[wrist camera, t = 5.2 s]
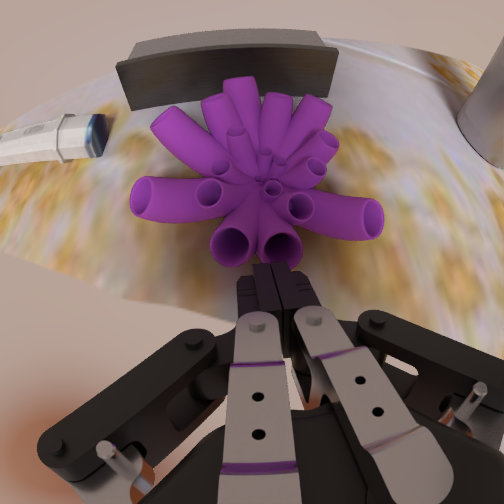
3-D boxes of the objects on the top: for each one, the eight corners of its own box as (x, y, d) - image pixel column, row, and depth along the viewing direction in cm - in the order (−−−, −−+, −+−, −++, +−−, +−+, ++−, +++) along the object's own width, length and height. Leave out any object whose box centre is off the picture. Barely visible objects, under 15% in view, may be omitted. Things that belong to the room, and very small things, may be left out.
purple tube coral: (239, 306, 20) (119, 286, 13) (225, 145, 26) (146, 91, 18) (399, 262, 14) (353, 189, 7) (333, 88, 20) (268, 1, 12)
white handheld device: (83, 141, 17) (-72, 170, 13) (105, 189, 23) (-46, 198, 20) (104, 97, 19) (-53, 135, 15) (118, 146, 25) (-31, 164, 21)
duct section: (313, 67, 26) (321, 27, 21) (327, 97, 24) (339, 52, 19) (141, 79, 25) (130, 39, 20) (131, 111, 23) (115, 66, 18)
